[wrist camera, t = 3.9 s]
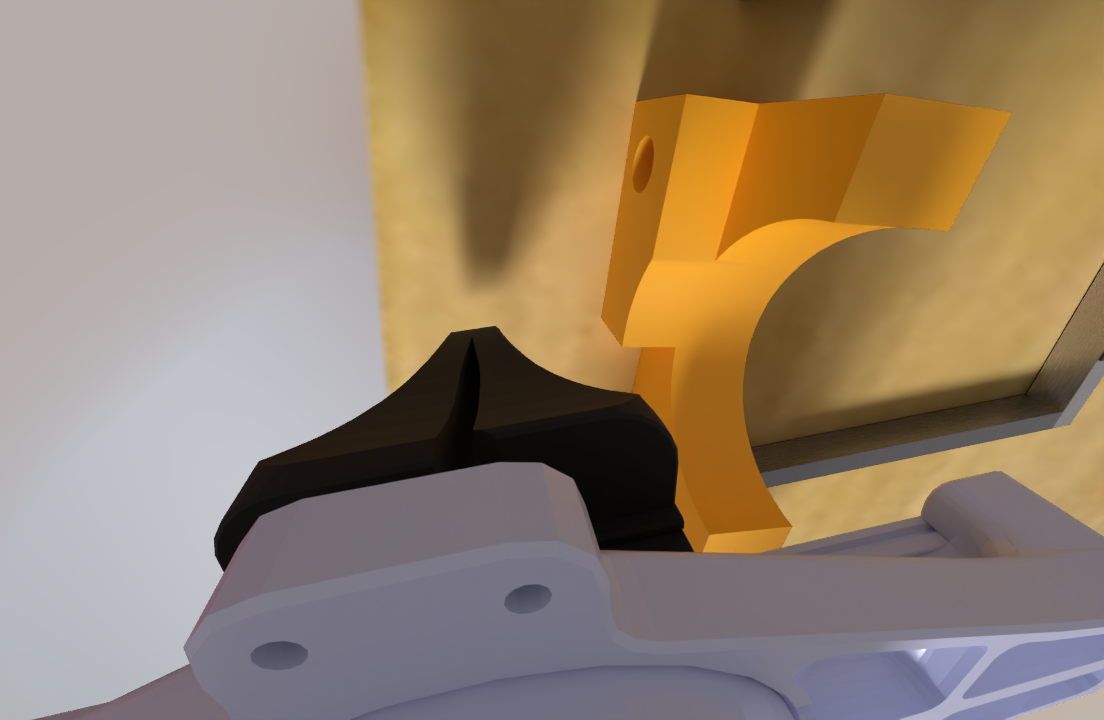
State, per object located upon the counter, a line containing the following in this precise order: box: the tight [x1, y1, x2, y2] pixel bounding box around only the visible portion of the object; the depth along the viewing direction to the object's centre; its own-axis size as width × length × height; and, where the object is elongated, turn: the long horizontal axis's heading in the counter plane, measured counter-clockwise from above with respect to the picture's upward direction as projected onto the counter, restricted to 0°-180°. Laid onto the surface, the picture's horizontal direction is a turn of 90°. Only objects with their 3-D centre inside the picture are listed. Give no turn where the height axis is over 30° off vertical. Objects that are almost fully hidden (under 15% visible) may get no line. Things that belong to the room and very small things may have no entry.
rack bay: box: [751, 265, 1104, 488], centre depth 15 cm, size 18×19×2 cm
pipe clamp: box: [601, 93, 1011, 553], centre depth 12 cm, size 12×4×6 cm, turn 174°
